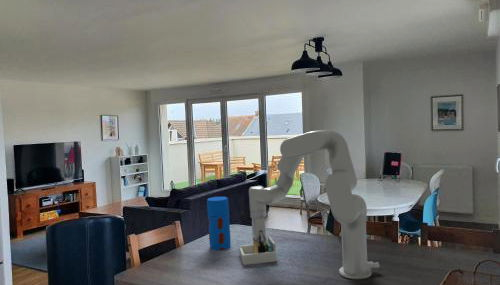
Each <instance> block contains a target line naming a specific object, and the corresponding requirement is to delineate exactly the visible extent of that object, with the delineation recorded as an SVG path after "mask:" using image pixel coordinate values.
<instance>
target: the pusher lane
mask: <svg viewBox="0 0 500 285" xmlns="http://www.w3.org/2000/svg"><path fill="white" fill-rule="evenodd" d="M267 240H268V242H269V243H270V245H271V247H272V248H271V249H272V252H263V253H254V245H253V243H252V244H244V245H238V248H239V249H238V250H239V253H238V255H239V257H240V260H241V262H242V265H243V266H247V265H255V264H256V265H257V264H263V263H272V262H277V250H276V249H277V248H276V242H275V241H274V240H273V238H272V237H271V236H270V235H268V236H267Z"/></svg>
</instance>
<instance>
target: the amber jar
mask: <svg viewBox="0 0 500 285" xmlns="http://www.w3.org/2000/svg"><path fill="white" fill-rule="evenodd" d="M259 239H260V238H259ZM266 239H267V237H266V238H265V239H264V243H265V252H267V245H266ZM260 241H261V240H259V242H260ZM252 244H253V245H254V253H258V239H257V240H255V239H254V237H253V236H252Z"/></svg>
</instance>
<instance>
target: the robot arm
mask: <svg viewBox="0 0 500 285" xmlns="http://www.w3.org/2000/svg"><path fill="white" fill-rule="evenodd" d="M279 151H280V154H281V157H280V158H279V161H278V163H277V165H276V168H277V170H278V172H280V173H279V176H278V178H277V180H276V182H275V184H274V185H271V186H267V187H264V186H262V185H255V186H250V187H249V189H248V199H249V200H248V201H249V217H250V218H251V233H252V234H251V235H252V238H253V237H254V239H255V240H257V239H258V253H263V252H265V243H264V239H265V238H266V239H267V236H266V232H267V231H266V220H265V218H266V217H267V205H268V206H271V205H273V204H276V203H278V202H281V201H282V200H284V199H285V198H286V196H288V193H289V192H290V190H291V188H292V186H293V184H294V180H295V179H294V178H295V174H296V172H297V170H298V168H299V167H300V165H301V163H302V162H303V160H304V158H305V156H307V155H312V154H315V153H320V152H324V151H327V152H328V161H329V165H330V169H331V172H330V173H329V174H328V175H327V176H326V179H325V186H324V187H325V191H326V196H327V199H328V202H329V207H330V210H331V213H332V216H333V217H334V219H335V220H336V221H337V223H339V224H341V226H340V227H341V228H340V230H341V251H342V255H341V256H342V266H341V267H340V268H339V271H338V272H339V274H340V276H342V277H343V278H347V279H351V280H365V279H368V278H370V277H371V276H372V274H373V272H372V271H373V270H372V269H375V268H376V269H378V268H380V263H379V262H374V261H373V260H371V261H368V249H367V248H368V247H367V246H368V243H367V213H368V212H367V210H368V207H367V203H366V201H365V199H364V198H363V197H362V196H361V195H359V194H355V193H353V192H352V191H353V190H354V189H356V187H357V184H358V179H357V178H358V177H357V175H356V171H355V168H354V164H353V161H352V157H351V154H350V151H349V147H348V143H347V141H346V139H345V138H344V136H343V135H342V134H341V133H339V132H337V131H335V130H332V129H331V130H330V129H319V130H313V131H308V132H306V133H302V134H298V135H295V136H293V137H288V138H286V139H285V138H284V140H283V141H282V142H281V144H280V147H279ZM259 238H260V239H259ZM259 240H261V241H260V242H259Z"/></svg>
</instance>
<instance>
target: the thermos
mask: <svg viewBox="0 0 500 285" xmlns="http://www.w3.org/2000/svg"><path fill="white" fill-rule="evenodd" d="M206 205H207V206H206V208H207V221H208V223H207V226H208V237H209V238H208V239H209V240H208V241H209V249H210V250H212V251H224V250H228V249H230V248H231V226H230V225H231V224H230V211H229V210H230V208H229V198H228V196H227V197H226V196H213V197H209V198H207V200H206Z"/></svg>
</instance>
